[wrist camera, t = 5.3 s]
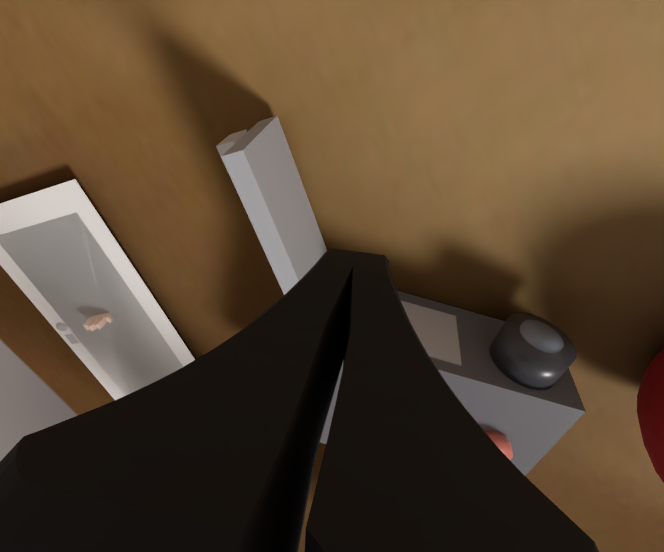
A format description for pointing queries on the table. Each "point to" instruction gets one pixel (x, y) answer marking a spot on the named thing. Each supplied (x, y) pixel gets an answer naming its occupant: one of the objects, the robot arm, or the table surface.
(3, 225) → the touchpad
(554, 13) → the table surface
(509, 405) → the camera body
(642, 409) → the apple
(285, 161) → the door
